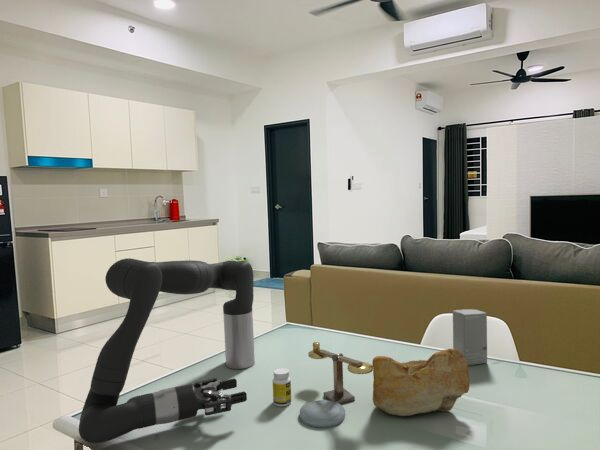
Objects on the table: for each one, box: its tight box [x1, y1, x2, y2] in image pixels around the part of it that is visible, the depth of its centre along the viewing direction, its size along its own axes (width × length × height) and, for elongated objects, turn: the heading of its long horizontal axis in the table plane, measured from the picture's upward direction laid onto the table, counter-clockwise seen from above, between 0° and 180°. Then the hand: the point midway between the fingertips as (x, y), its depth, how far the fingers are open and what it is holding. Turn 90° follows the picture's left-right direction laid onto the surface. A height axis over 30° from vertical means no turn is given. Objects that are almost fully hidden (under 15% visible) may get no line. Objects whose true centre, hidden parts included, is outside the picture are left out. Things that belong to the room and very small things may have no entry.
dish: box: [299, 399, 346, 429], centre depth 107 cm, size 11×11×1 cm
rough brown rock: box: [371, 348, 471, 417], centre depth 111 cm, size 23×17×15 cm
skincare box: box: [452, 308, 488, 366], centre depth 137 cm, size 8×7×16 cm
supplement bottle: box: [272, 367, 292, 407], centre depth 114 cm, size 5×5×8 cm
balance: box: [307, 341, 373, 405], centre depth 115 cm, size 28×6×13 cm, turn 24°
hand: (241, 389), depth 110 cm, fingers open, 8 cm apart
